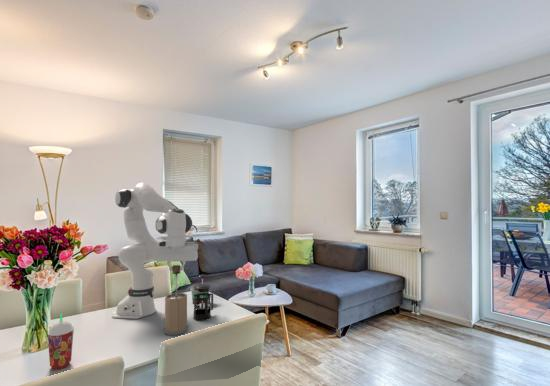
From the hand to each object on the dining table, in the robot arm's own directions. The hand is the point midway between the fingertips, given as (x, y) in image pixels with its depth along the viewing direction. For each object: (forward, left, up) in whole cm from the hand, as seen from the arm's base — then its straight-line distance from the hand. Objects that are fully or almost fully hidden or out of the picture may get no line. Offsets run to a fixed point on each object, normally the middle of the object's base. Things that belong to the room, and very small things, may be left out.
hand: (176, 270), depth 150 cm
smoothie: (-38, -27, -30) cm, 55 cm away
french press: (+11, +16, -30) cm, 36 cm away
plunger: (0, 0, -14) cm, 14 cm away
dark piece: (+6, +38, -30) cm, 49 cm away
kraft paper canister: (0, +1, -30) cm, 30 cm away
